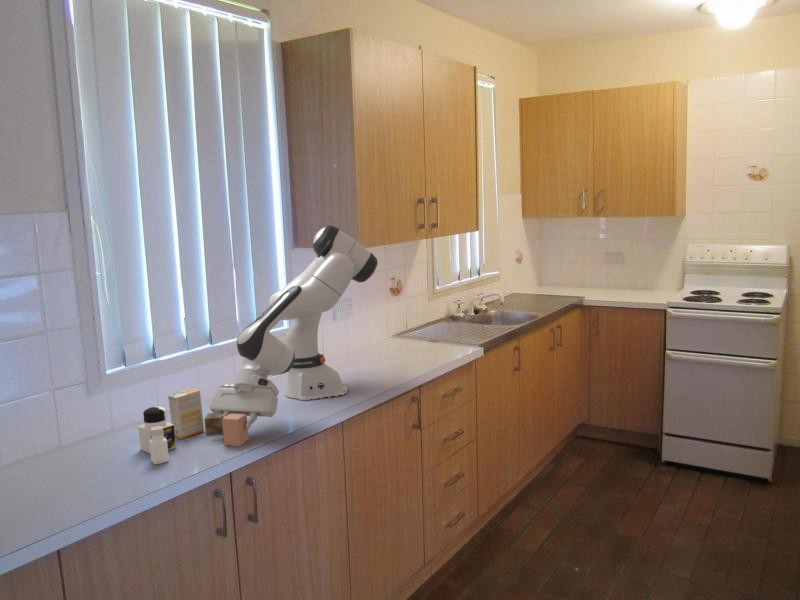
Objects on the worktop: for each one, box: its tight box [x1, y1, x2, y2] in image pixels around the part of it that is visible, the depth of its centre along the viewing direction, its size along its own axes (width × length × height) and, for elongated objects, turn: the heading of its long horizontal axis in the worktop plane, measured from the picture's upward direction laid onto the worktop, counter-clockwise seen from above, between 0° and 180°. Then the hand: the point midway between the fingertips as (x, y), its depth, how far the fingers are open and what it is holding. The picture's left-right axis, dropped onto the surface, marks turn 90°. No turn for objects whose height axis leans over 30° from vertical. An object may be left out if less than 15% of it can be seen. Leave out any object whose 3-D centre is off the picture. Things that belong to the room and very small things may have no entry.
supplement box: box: [167, 388, 205, 440], centre depth 197 cm, size 8×5×13 cm, turn 141°
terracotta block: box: [222, 413, 249, 447], centre depth 188 cm, size 5×5×8 cm
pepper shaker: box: [149, 426, 170, 465], centre depth 176 cm, size 4×4×10 cm
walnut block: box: [203, 412, 224, 435], centre depth 199 cm, size 5×5×5 cm
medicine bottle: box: [138, 406, 177, 455], centre depth 186 cm, size 7×7×12 cm
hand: (236, 427), depth 188 cm, fingers closed on terracotta block, 5 cm apart
